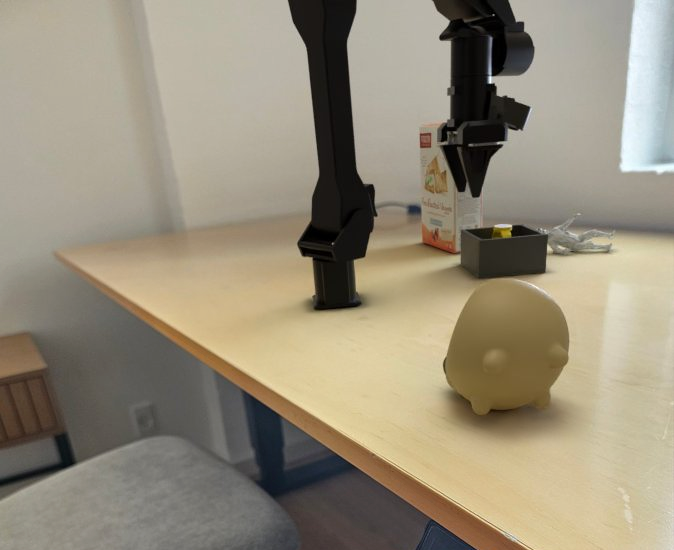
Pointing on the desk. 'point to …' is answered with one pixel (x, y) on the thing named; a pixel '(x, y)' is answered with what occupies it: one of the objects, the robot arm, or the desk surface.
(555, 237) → the soldier figure
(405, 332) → the desk surface
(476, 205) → the cracker box
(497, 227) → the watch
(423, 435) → the desk surface
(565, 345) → the toy pig
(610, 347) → the desk surface
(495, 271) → the basket
